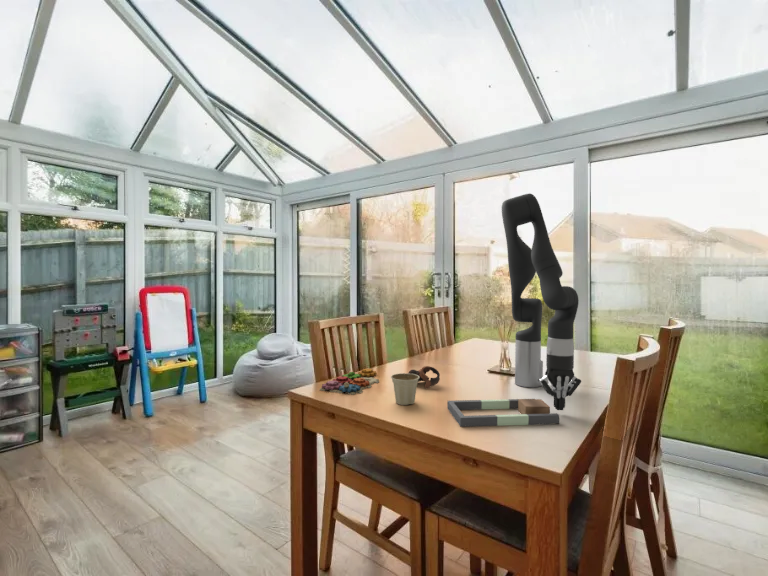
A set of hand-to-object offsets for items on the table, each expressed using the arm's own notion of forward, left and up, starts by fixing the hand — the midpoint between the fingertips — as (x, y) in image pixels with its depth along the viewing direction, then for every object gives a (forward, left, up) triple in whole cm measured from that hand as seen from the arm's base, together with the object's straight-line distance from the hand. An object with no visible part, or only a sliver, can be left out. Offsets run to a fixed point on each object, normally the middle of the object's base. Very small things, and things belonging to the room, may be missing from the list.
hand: (559, 409), depth 120 cm
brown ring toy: (+35, -34, -2) cm, 49 cm away
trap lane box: (+17, 0, -2) cm, 18 cm away
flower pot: (+45, -15, -2) cm, 47 cm away
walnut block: (+8, 0, -2) cm, 8 cm away
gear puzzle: (+60, -40, -2) cm, 73 cm away
